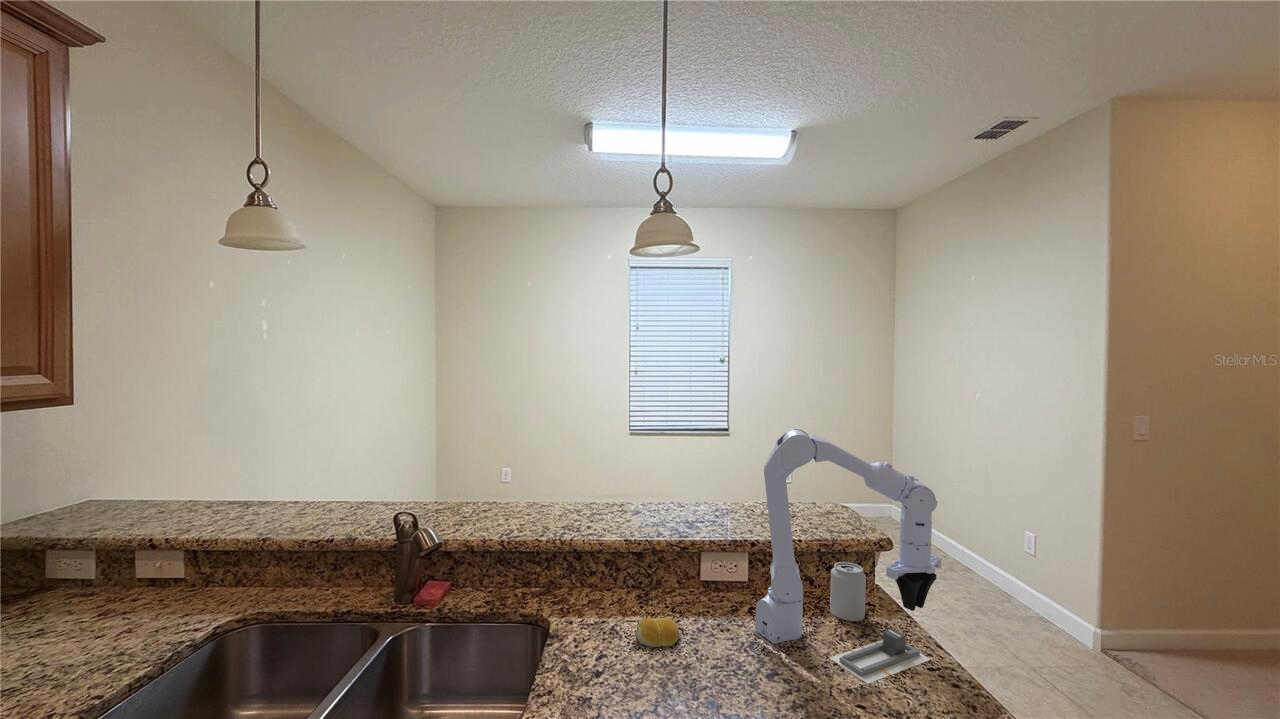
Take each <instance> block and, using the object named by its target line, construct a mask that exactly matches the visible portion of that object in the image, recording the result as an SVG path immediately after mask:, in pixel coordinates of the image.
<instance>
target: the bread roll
mask: <svg viewBox="0 0 1280 719" xmlns="http://www.w3.org/2000/svg"><path fill="white" fill-rule="evenodd" d="M635 632H636V633H635V634H636V638H637V641H638V642H639V643H640V644H641V645H643V646H646V647H650V648H659V647H666V648H667V647H671V646H674V645H675V643H676V642H677V641H678V640H679V638H680V628H679V626H678V624H677V623H676V622H675V621H674V620H673V619H670V618H666V617H658V618H656V619H654V618H652V617H651V618H650V617H646V618H642V619H640V621H639V623H638V625H637V630H636V631H635Z"/></svg>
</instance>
